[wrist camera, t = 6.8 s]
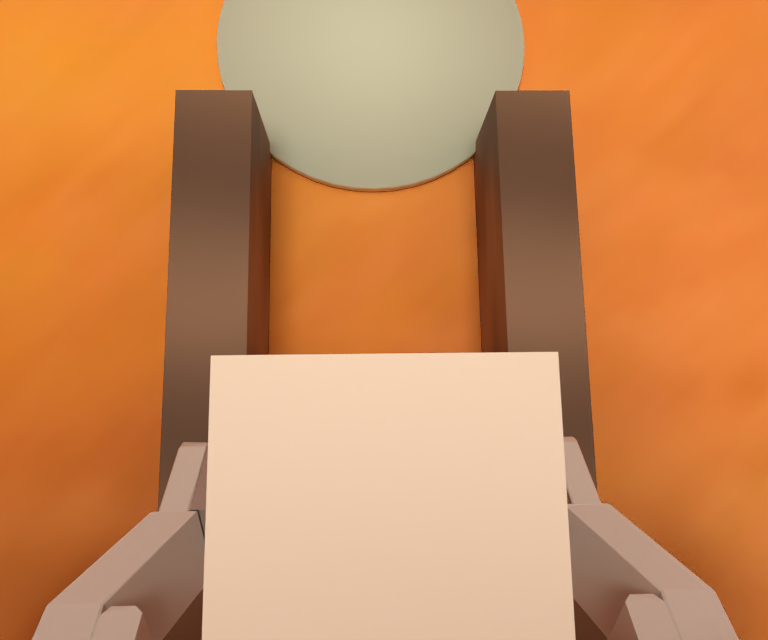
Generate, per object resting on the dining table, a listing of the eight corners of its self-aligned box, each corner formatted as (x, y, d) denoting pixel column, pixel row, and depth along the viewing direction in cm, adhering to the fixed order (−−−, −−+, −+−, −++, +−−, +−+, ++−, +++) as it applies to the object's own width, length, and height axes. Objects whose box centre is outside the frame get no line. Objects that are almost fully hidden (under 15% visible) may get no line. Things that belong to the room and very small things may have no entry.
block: (457, 554, 17) (581, 728, 7) (294, 557, 17) (198, 740, 7) (452, 391, 18) (558, 351, 8) (296, 393, 18) (211, 355, 8)
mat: (315, 248, 19) (314, 244, 19) (165, -3, 21) (162, -11, 20) (579, 99, 21) (583, 93, 20) (421, -131, 22) (422, -140, 21)
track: (570, 757, 17) (621, 841, 14) (188, 770, 17) (143, 858, 13) (534, 147, 20) (569, 90, 17) (208, 147, 20) (175, 90, 16)
